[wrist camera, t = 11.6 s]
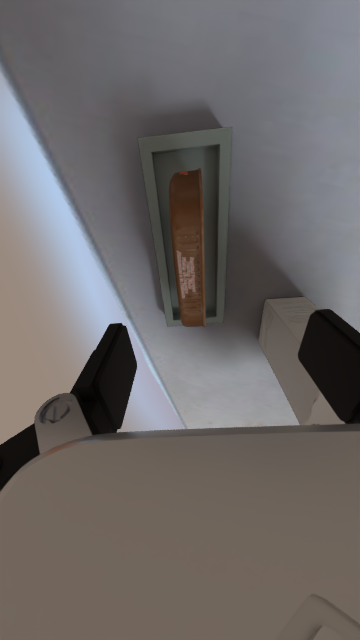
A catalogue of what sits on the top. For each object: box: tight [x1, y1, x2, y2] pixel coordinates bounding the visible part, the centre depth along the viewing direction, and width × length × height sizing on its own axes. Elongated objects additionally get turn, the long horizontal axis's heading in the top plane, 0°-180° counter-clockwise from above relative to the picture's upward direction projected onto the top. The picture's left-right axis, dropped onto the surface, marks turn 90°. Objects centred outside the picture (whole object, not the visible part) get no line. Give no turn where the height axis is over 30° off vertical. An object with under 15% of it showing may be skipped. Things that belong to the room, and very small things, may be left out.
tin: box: [169, 168, 206, 327], centre depth 20 cm, size 15×3×8 cm, turn 5°
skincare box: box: [258, 297, 345, 425], centre depth 24 cm, size 8×6×15 cm
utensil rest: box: [138, 127, 232, 327], centre depth 23 cm, size 20×8×2 cm, turn 5°
